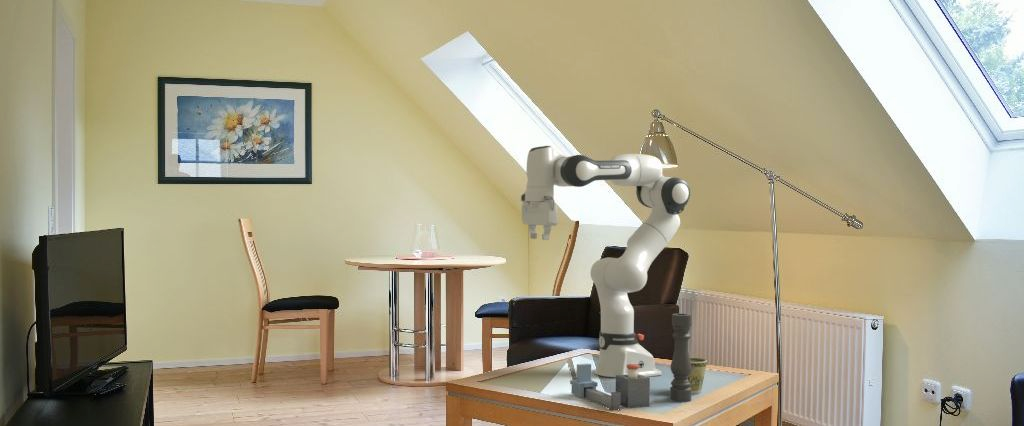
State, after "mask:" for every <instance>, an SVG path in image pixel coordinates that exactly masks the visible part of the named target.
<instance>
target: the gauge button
mask: <svg viewBox="0 0 1024 426" xmlns="http://www.w3.org/2000/svg"><path fill="white" fill-rule="evenodd" d="M627 368H628V377H629V378H638V368H639V365H637V364H627Z"/></svg>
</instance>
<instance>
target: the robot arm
mask: <svg viewBox="0 0 1024 426" xmlns="http://www.w3.org/2000/svg"><path fill="white" fill-rule="evenodd" d="M527 153H528V154H527V159H526V177H527V182H526V185H525V186H526V187H525V188H526V189H525V191H524V192H523V193H522V194H521V195H520V202H522V203H521V220H522V223H523V224H524V225H528V231H529V238H530V239H531V240H536V239H537V236H538V233H537V231H536V228H537V226H543V227H542V228H543V233H542V234H541V238H542V240H543V241H549V240H550V234H551V230H552V226H553V227H554V226H557V225H558V222H559V221H558V220H559V217H558V215H559V214H558V204H557V203H556V201H555V197H554V195H555V194H554V192H555V186H556V187H576V188H581V187H585V186H587V185H589V184H590V183H593V182H595V181H610V182H611V183H612V184H613V185H616V186H621V187H636V191H635V192H636V194H635V195H636V198H637V200H638V202H639V203H640V204H641V205H642V206H644V207H646V208H649V209H651V212H650V214H649V216H648V218H646V219H645V220H644V222H643V223H642V224H640V226H639V227H638V228H637V229H636V230H635V231H634V232H633V233H632V234H631V236H630V237H629V238H628V239H627V242H626V246H627V247H626V248H625V251H624V252H623V254H622V255H621V256H620V257H610V256H609V257H605V258H603V257H602V258H600V259H597V260H596V261H595V262H594V263H593V264H592V266H591V268H590V279H591V280H592V282H593V283H594V285H595V288H596V292H597V296H598V300H599V306H600V307H599V308H600V331H599V335H598V337H599V338H598V345H599V354H598V355H599V356H598V360H597V361H598V362H597V365H596V369H595V372H594V373H595V375H598V376H600V377H601V376H602V377H607V378H616V375H625V374H628V368H627V364H637V365H639V368H638V374H639V375H642V376H645V377H648V378H650V377H654V376H655V377H656V376H662V375H663V373H662V371H661V369H658V368H656V363H655V362H656V361H655V358H654V356H653V354H652V353H650V352H649V351H648V350H647V349H645V348H644V347H643V346H642V345H640V343H639V341H638V340H640V341H644V340H645V336H644V335H643V334H641V333H638V334H637V333H636V332H635V329H634V328H635V326H634V325H635V324H634V322H635V321H634V320H635V310H634V307H633V305H632V304H631V302H630V299H629V295H628V293H635V292H639V291H641V290H642V289H643V288H644V287H645V286H646V285H647V281H648V271H649V269H650V266H652V263H653V262H654V261H655V259H656V258H657V257H658V255H659V254H661V252H662V251H664V249H665V248H666V247H667V245H668V244H669V243H670V242H671V240H672V239H673V238H674V236H675V235H676V233H677V231H678V229H679V228H680V226H681V218H680V216H679V215H678V214H681V213H682V212H683V211H684V210H685V207H686V206H687V205H688V203H689V201H690V197H691V188H690V186H689V183H688V182H686V181H685V180H683V179H682V178H679V177H669V176H664V174H663V164H662V162H661V160H660V158H658V157H656V156H654V155H652V154H651V155H649V154H645V153H644V154H643V153H623V154H622V153H621V154H618V155H614V156H613V157H611V159H610V160H594V159H593V158H590V157H588V156H586V155H583V154H575V155H571V156H566V155H563V154H561V153H560V152H558V151H556V150H555V149H554V148H553V147H552V145H543V146H542V145H541V146H535V147H532V148H530V149H529V151H528V152H527ZM554 185H555V186H554Z"/></svg>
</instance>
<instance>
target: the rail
mask: <svg viewBox="0 0 1024 426" xmlns="http://www.w3.org/2000/svg"><path fill="white" fill-rule="evenodd" d="M572 378H573V379H572V380H576V379H577V376H573V377H572ZM610 393H611V394H608V393H605V392H603V391H601V390H598V389H597V388H596V389H594V388H591V387H584V397H581V398H583V399H585V400H587V401H589V402H592V403H593V402H594V403H593V404H596V403H597V404H596V405H598V404H599V405H598V406H600V405H602V406H601V407H603V406H604V407H603V408H605V407H607V408H609V409H608V410H610V409H612V410H617V411H621V405H620V397H621V392H616V391H611V392H610ZM607 408H606V409H607ZM618 409H619V410H618ZM612 410H611V411H612Z"/></svg>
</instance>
